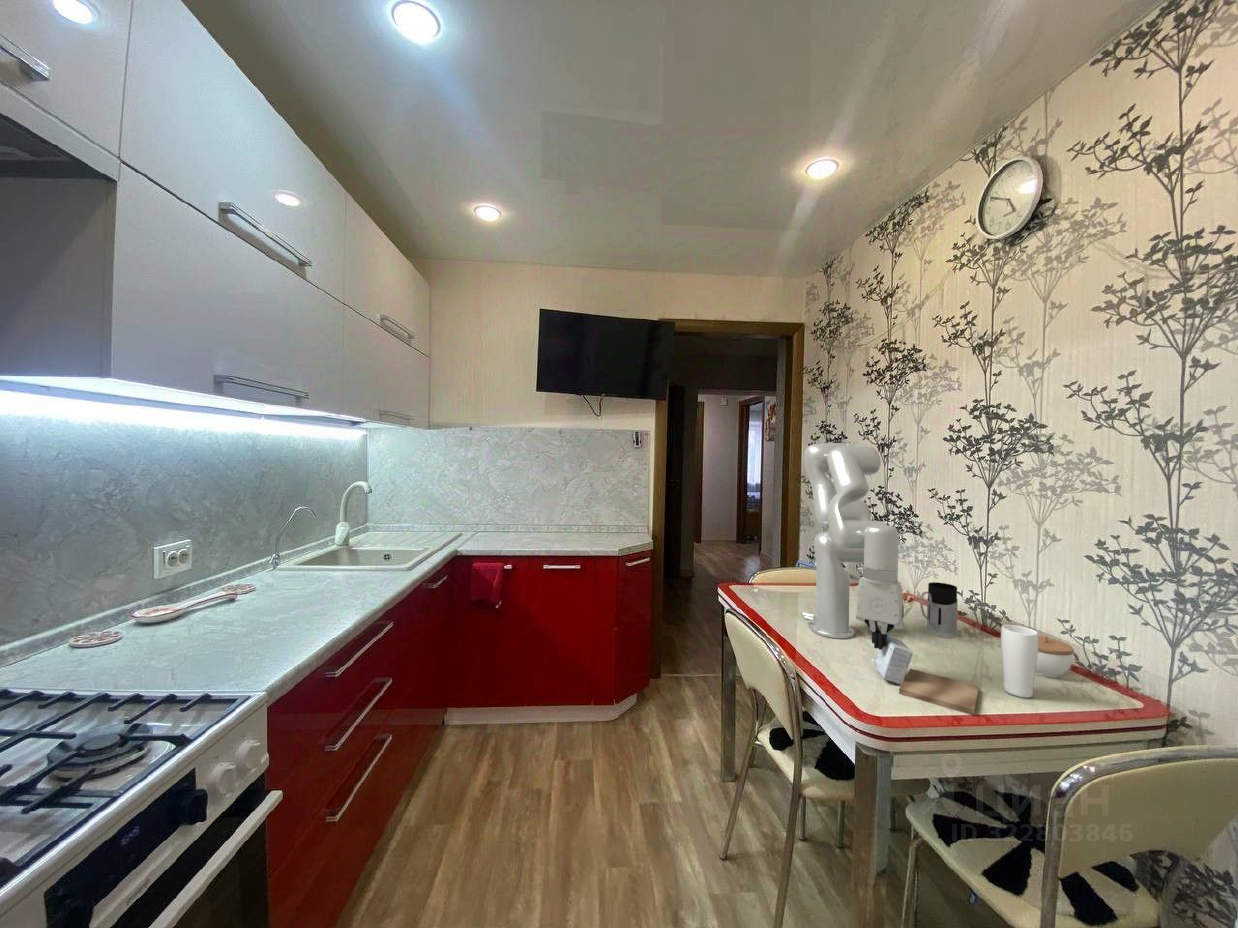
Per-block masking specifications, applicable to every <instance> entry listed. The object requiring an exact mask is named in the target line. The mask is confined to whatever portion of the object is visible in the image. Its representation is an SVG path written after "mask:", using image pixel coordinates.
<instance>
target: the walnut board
mask: <svg viewBox="0 0 1238 928" xmlns="http://www.w3.org/2000/svg"><path fill="white" fill-rule="evenodd" d="M979 693H980V686H979V685H976V684H973V683H968V682H964V681H961V680H956V679H953V678H949V677H945V676H941V675H937V674H933V673H929V672H925V671H921V670H917V669H913V668H909V670H908V671H907V672H906V674H905V677H904V680H903V682H902V684H901V685H899V688H898V694H899V695H903V696H906V697H910V698H912V699H913V698H914V699H917V700H920V701H924V702H926V703H931V704H933V705H937V706H941V707H943V708H947V709H951V710H953V711H958V712H961V713H965V714H968V715H971V716H975V713H976V708H977V704H978V703H977V702H978V697H979Z"/></svg>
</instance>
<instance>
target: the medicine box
mask: <svg viewBox="0 0 1238 928" xmlns="http://www.w3.org/2000/svg"><path fill="white" fill-rule="evenodd" d="M912 657H913V651H912V650H911V649H910V647H908V646H907V644H906V643H905V642H903V640H900V639H898V638H896V637H893V636H889V635H887V643H886V646H884V647H883V648H882V650H880V649H878V652H877V655H876V657H875V660H874V663H873V666H874V668H875V669H876V670H877V671H878V673H879V674H880V676H881V677H882V679H884V680H886V681H888V682H892V683H894V684H896V685H899V686H901V684H902V682H903V681H904V679H905V677H906V675H907V673H908V669H909V665H910V663H911V660H912Z"/></svg>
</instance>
